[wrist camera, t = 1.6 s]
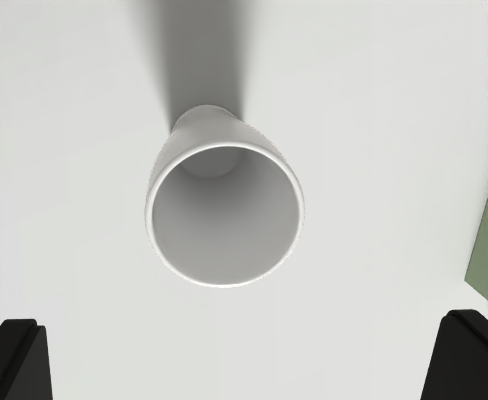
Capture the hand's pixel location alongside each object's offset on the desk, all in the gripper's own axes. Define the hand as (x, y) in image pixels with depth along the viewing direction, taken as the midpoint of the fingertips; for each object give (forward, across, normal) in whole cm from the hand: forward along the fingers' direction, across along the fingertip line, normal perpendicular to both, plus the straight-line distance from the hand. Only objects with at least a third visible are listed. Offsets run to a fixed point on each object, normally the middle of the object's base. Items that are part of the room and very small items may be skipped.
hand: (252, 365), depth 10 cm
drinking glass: (+23, 0, -1) cm, 23 cm away
